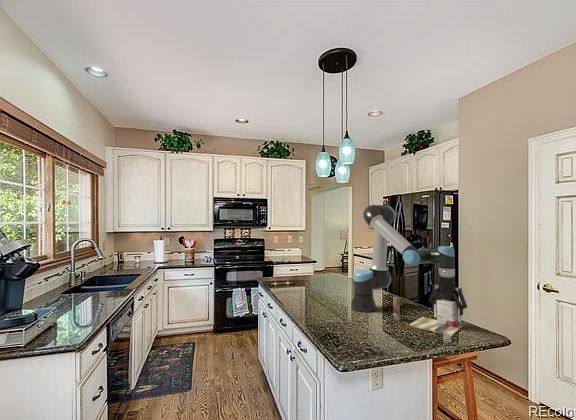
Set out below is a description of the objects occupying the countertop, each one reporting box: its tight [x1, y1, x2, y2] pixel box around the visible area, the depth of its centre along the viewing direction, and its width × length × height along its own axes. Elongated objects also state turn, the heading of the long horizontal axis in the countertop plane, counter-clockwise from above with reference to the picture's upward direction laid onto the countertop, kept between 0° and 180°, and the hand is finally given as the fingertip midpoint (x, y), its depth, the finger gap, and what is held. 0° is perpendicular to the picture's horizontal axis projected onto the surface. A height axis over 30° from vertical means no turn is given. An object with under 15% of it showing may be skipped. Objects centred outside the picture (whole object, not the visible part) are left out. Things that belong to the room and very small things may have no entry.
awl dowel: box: [392, 296, 401, 321], centre depth 166 cm, size 3×3×12 cm
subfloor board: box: [409, 316, 463, 337], centre depth 156 cm, size 20×17×1 cm
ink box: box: [436, 298, 459, 327], centre depth 157 cm, size 9×5×12 cm, turn 34°
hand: (447, 318), depth 157 cm, fingers open, 11 cm apart
